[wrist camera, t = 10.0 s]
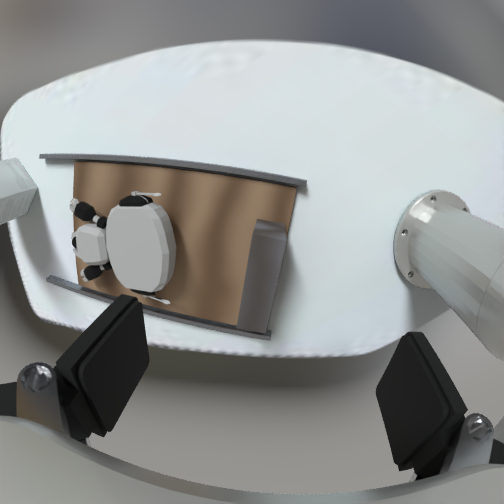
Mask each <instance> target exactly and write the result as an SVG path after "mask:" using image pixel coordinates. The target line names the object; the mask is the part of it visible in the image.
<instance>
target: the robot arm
mask: <svg viewBox="0 0 504 504" xmlns="http://www.w3.org/2000/svg"><path fill="white" fill-rule="evenodd" d="M402 231H403V232H402ZM394 255H395V260H396V263H397V266H398V268H399V270H400V272H401V273H402V275H403V276H404V277H405V278H406V279H407V280H408V281H409V282H410V283H411V284H413V285H415V286H417V287H419V288H425V289H430V288H433V289H434V290H435V291H436V292H437V293H438V294H439V295H440V296H441V297H442V299H443V300H444V301H445V302H446V303H447V304H448V305H449V306H450V307H451V308H452V309H453V310H454V312H455V313H456V314H457V315H458V316H459V317H460V318H461V319H462V320H463V322H464V323H465V324H466V325H467V326H468V327H469V329H470V330H471V331H472V332H473V333H474V334H475V336H476V337H477V338H478V339H479V340H480V341H481V343H482V344H483V345H484V346H485V347H486V349H487V350H488V351H489V352H490V353H491V354H492V355H494V356H495V357H497V358H499V359H501V360H504V229H503V228H501V227H499V226H497V225H495V224H492V223H490V222H488V221H486V220H484V219H481V218H479V217H477V216H475V215H472V214H471V213H470V210H469V208H468V207H467V205H466V204H465V202H464V201H463V200H462V199H461V198H460V197H459V196H457V195H455V194H453V193H451V192H448V191H443V190H433V191H429V192H426V193H424V194H422V195H420V196H419V197H417V198H416V199H415V200H414V201H413V202H412V203H411V204H410V205H409V206H408V207H407V209H406V210H405V212H404V213H403V215H402V217H401V219H400V221H399V223H398V226H397V229H396V233H395V239H394ZM56 364H57V365H56V366H55V367H54V368H52V366H50V365H48V364H47V363H43V362H36V363H32V364H29V365H27V366H25V367H24V368H23V369H22V370H21V371H20V373H19V375H18V378H17V382H12V383H6V384H0V504H504V417H503V418H502V419H501V420H500V421H499V423H498V424H497V425H496V426H495V428H493V425H492V423H491V422H490V420H489V419H488V418H487V417H485V416H484V415H482V414H479V413H473V414H470V415H468V416H467V417H466V418H465V417H464V414H465V413H466V411H467V410H468V409H467V407H466V406H465V403H464V402H463V400H462V398H461V396H460V394H459V392H458V390H457V389H456V387H455V385H454V383H453V381H452V380H451V378H450V376H449V375H448V373H447V371H446V369H445V368H444V366H443V364H442V363H441V361H440V359H439V358H438V356H437V354H436V353H435V351H434V350H433V348H432V346H431V345H430V343H429V342H428V340H427V338H426V337H425V335H424V334H423V333H422V332H407V333H406V334H405V335H404V336H402V338H401V339H400V342H399V344H398V346H397V348H396V350H395V352H394V354H393V357H392V358H391V361H390V362H389V365H388V366H387V368H386V370H385V372H384V374H383V376H382V378H381V380H380V382H379V384H378V385H377V388H376V397H377V400H378V403H379V407H380V410H381V413H382V417H383V421H384V424H385V428H386V432H387V436H388V440H389V443H390V447H391V452H392V455H393V460H394V463H395V464H397V465H398V468H399V471H403V470H408V469H412V468H414V474H413V476H412V477H411V480H410V481H409V482H408V483H404V484H399V485H394V486H389V487H383V488H377V489H370V490H364V491H355V492H345V493H331V494H274V493H260V492H250V491H242V490H234V489H227V488H221V487H215V486H209V485H205V484H200V483H195V482H191V481H187V480H182V479H179V478H175V477H171V476H167V475H163V474H160V473H157V472H154V471H151V470H148V469H145V468H141V467H139V466H136V465H133V464H130V463H128V462H125V461H123V460H120V459H117V458H115V457H112V456H110V455H107V454H105V453H103V452H100V451H98V450H96V449H94V448H91V445H90V441H89V436H90V435H91V433H92V432H93V433H95V434H97V435H99V436H102V437H104V436H105V435H106V433H107V431H108V432H110V431H112V429H113V428H114V426H115V424H116V422H117V421H118V419H119V417H120V415H121V413H122V411H123V410H124V408H125V406H126V404H127V402H128V401H129V399H130V397H131V395H132V393H133V391H134V390H135V388H136V386H137V385H138V383H139V381H140V379H141V378H142V376H143V374H144V372H145V371H146V369H147V367H148V364H149V353H148V346H147V339H146V332H145V324H144V316H143V307H142V303H141V302H139V301H138V298H137V297H134V296H130V295H125V294H121V295H120V296H119V297H118V298H117V299H116V300H115V301H114V302H113V303H112V304H111V305H110V306H109V307H108V308H107V309H106V310H105V311H104V312H103V313H102V314H101V315H100V316H99V317H98V318H97V319H96V320H95V321H94V322H93V323H92V324H91V325H90V326H89V327H88V328H87V329H86V330H85V331H84V332H83V333H82V334H81V335H80V337H79V338H78V339H77V340H76V341H75V342H74V343H73V344H72V345H71V346H70V347H69V348H68V349H67V351H66V352H65V353H64V354H63V355H62V356H61V357H60V358H59V359H58V361H57V362H56Z"/></svg>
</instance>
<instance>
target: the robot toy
mask: <svg viewBox="0 0 504 504" xmlns="http://www.w3.org/2000/svg"><path fill="white" fill-rule="evenodd" d="M131 193H132V195H129V196H127V197H125V198H123V199H121V200H120V202H119V205H117V206H116V207H114V208H113V209H111V211H110V213H109V216H108V218H107V217H105V216H102V217H99V216H97V214H96V212H95V209H94V207H93V206H91V205H89V204H88V203H86V202H83V201H81V202H80V201H79V200H78V199H75V198H73V199H72V200H71V203H72V204H70V210H71V211H72V212H74V215H75V216H76V217H78V218H79V219H81V220H82V221H92V222H90V223H87V224H85V225H83V226H81V227H79V228H78V230H77V231H75V232H73V233H72V237H71V239H72V238H73V239H72V245H73V246H74V247H75V249H73V251H74V253H75V255H76V256H77V257H79V258H81V259H82V260H83V262H84V263H86V264H88V265H89V266H87V267H86V268H85V269H83V270H82V271H81V272H80V275H81V277H82V276H83V275H84V278H82V279H83V280H84V282H88V281H90V280H93V279H96V278H98V277H100V276H101V274H102V273H103V271H104V269H105V270H106V271H107V270H110V269H112V268H113V271H114V273H115V275H116V277H117V279H118V280H119V281H120V282H121V284H122V285H123V286H124V287H125V288H129V289H130V290H131V291H132V292H135V293H137V294H141V295H143V296H144V297H150V298H152V299H155V300H158V301H161V302H163V303H165V304H170V302H169V301H168V300H163V299H161V298H158V297H155V296H152V295H155V294H156V293H157V292H158V291H159V290H162V289H163V287H164V286H165V285H166V284H167V283H168V282H169V281H170V279H171V278H172V276H173V273H174V268H175V259H176V243H175V238H174V233H173V228H172V225H171V222H170V219H169V216H168V214H167V213H166V211H165V210H164V208H163V207H162V206H161V205H158V204H156V203H154V202H153V200H152V198H150V197H148V196H145V195H152V196H161V194H160V193H139V191H134V192H131Z"/></svg>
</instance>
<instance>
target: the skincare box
mask: <svg viewBox="0 0 504 504" xmlns="http://www.w3.org/2000/svg"><path fill="white" fill-rule="evenodd" d="M37 189H38V187H37V185H36V184H35V183H34V181H33V180H32V179H31V177H30V176H29V175H28V173H27V172H26V170H25V169H24V167H23V166H22V165H21V163H20V162H19V160H18V158H13V159H7V160H1V161H0V225H1V224H3V223H5V222H8V221H10V220H13V219H15V218H18V217H20V216H22V215H25V214H27V212H28V209H29V207H30V205H31V202H32V200H33V198H34V196H35V193H36V191H37Z"/></svg>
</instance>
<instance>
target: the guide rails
mask: <svg viewBox="0 0 504 504" xmlns="http://www.w3.org/2000/svg"><path fill="white" fill-rule="evenodd" d="M39 159H93V160H113V161H128V162H141V163H152V164H163V165H172V166H181V167H190V168H198V169H206V170H213V171H220V172H227V173H233V174H240V175H246V176H252V177H258V178H264V179H269V180H275V181H280V182H285V183H290V184H295V185H300V186H305V187H306V182H307V181H306V180H304V179H299V178H294V177H289V176H284V175H278V174H273V173H267V172H262V171H256V170H250V169H244V168H237V167H231V166H224V165H217V164H209V163H201V162H193V161H184V160H175V159H165V158H154V157H141V156H126V155H107V154H40V157H39ZM46 280H47V282H50V283H52V284H55V285H58V286H60V287H63V288H66V289H69V290H72V291H74V292H77V293H80V294H83V295H86V296H89V297H92V298H95V299H98V300H102V301H105V302H108V303H111V304H112V303H113V302H114V301H115V300H116V299H117V298H118V297H116V296H113V295H109V294H106V293H103V292H99V291H96V290H93V289H90V288H87V287H83V286H80V285H78V284H75V283H72V282H69V281H66V280H63V279H60V278H57V277H54V276H52V275H50V276H49V277H47V278H46ZM142 307H143V313H146V314H149V315H153V316H157V317H161V318H165V319H169V320H173V321H177V322H181V323H185V324H189V325H194V326H198V327H203V328H207V329H212V330H217V331H221V332H226V333H231V334H237V335H242V336H247V337H253V338H259V339H264V340H270V339H271V331H266V333H260V332H254V331H248V330H243V329H238V328H236V327H237V325H232V324H227V323H222V322H217V321H212V320H208V319H203V318H198V317H194V316H190V315H185V314H181V313H177V312H173V311H168V310H164V309H160V308H156V307H153V306H149V305H145V304H142Z"/></svg>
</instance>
